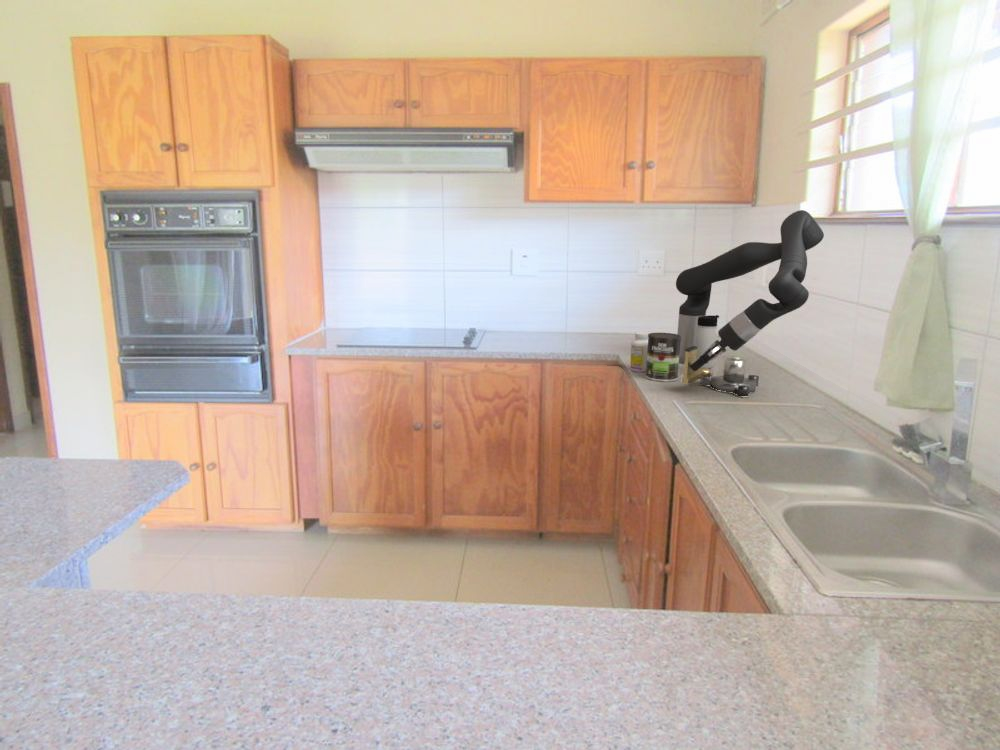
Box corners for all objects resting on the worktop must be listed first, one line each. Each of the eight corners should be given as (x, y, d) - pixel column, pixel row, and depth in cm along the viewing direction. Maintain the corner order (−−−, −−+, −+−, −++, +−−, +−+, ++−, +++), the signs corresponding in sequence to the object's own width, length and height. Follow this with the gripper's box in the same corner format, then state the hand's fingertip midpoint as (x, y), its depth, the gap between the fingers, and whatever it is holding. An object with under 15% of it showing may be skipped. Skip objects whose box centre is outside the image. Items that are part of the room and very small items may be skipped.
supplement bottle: (645, 368, 228) (647, 331, 225) (653, 372, 222) (655, 334, 219) (627, 368, 227) (629, 331, 224) (634, 372, 220) (636, 334, 217)
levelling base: (706, 378, 214) (709, 348, 212) (760, 385, 206) (763, 354, 204) (691, 390, 199) (694, 358, 197) (748, 398, 191) (752, 365, 188)
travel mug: (714, 378, 215) (720, 316, 210) (693, 376, 216) (698, 316, 212) (712, 373, 221) (718, 314, 216) (692, 372, 222) (697, 313, 217)
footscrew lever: (699, 372, 208) (702, 340, 206) (713, 374, 206) (716, 342, 203) (677, 382, 196) (680, 348, 193) (691, 384, 193) (694, 350, 191)
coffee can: (676, 383, 207) (679, 338, 204) (643, 380, 211) (646, 336, 208) (679, 376, 217) (682, 333, 214) (647, 373, 220) (650, 331, 217)
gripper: (744, 343, 180) (695, 382, 188) (752, 337, 191) (706, 374, 199) (725, 323, 181) (678, 362, 189) (734, 318, 192) (689, 355, 201)
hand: (692, 368), depth 194 cm, fingers closed
